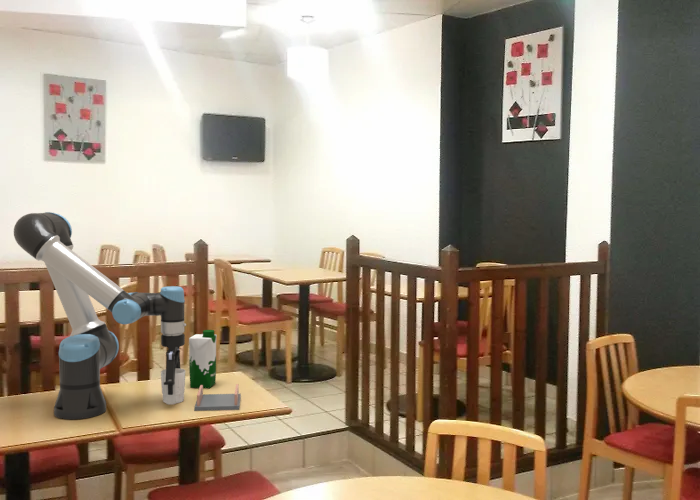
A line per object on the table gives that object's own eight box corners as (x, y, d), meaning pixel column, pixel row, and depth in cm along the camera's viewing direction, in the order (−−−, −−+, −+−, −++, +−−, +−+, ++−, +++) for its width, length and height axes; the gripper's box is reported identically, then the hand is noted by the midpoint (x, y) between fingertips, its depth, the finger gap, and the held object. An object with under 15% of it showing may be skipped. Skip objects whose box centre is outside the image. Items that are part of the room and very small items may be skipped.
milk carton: (211, 389, 240) (211, 333, 238) (186, 388, 240) (186, 332, 239) (218, 382, 248) (218, 328, 247) (194, 381, 249) (194, 327, 248)
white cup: (181, 404, 222) (181, 374, 221) (157, 404, 222) (157, 373, 221) (188, 397, 229) (188, 368, 229) (165, 397, 230) (164, 368, 229)
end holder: (194, 410, 215) (194, 396, 215) (198, 397, 229) (198, 384, 229) (239, 409, 217) (239, 395, 217) (240, 397, 231) (240, 383, 230)
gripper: (180, 340, 213) (180, 409, 214) (188, 326, 236) (188, 388, 238) (155, 341, 212) (156, 409, 213) (166, 327, 235) (166, 388, 237)
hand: (173, 398), depth 226 cm, fingers open, 11 cm apart
